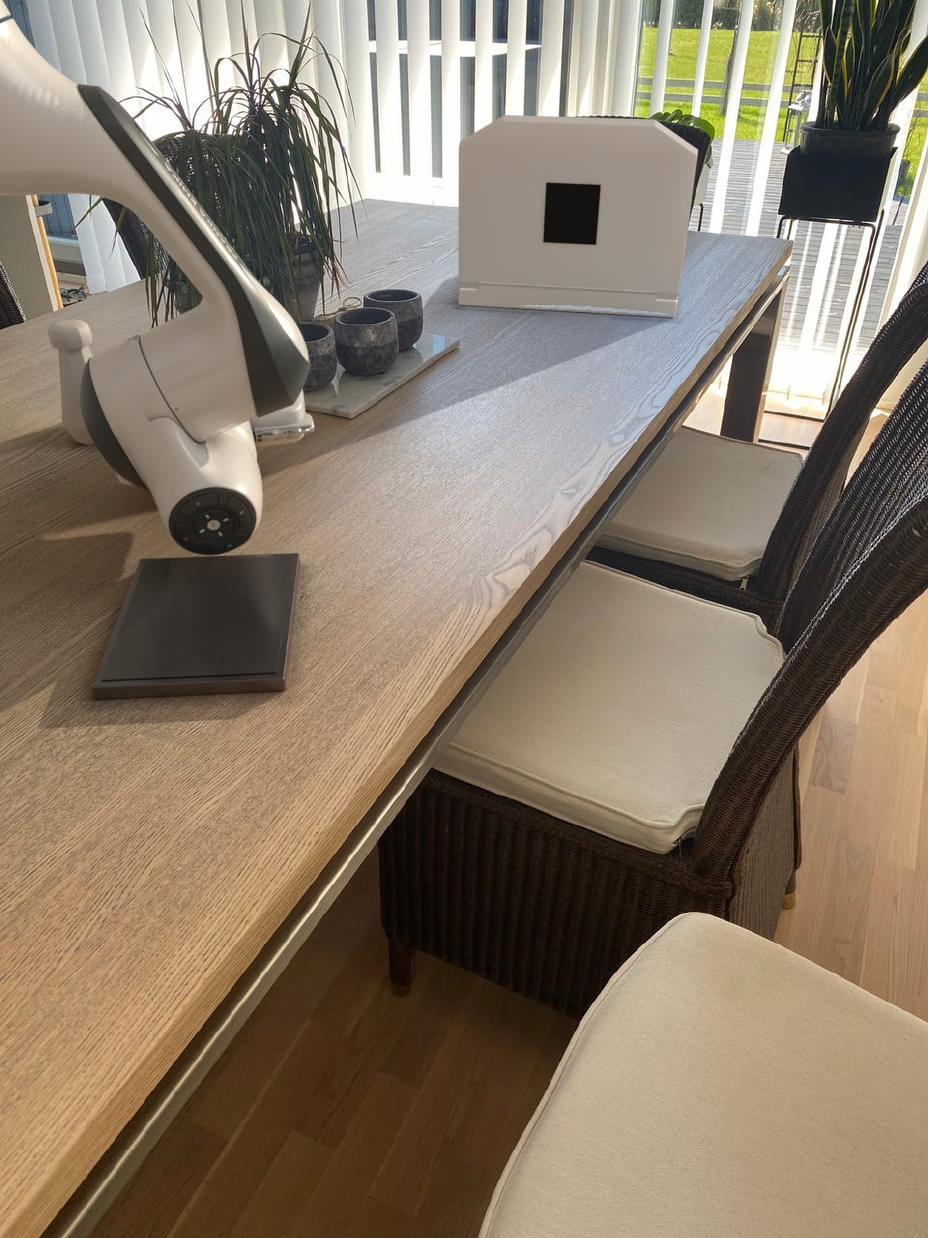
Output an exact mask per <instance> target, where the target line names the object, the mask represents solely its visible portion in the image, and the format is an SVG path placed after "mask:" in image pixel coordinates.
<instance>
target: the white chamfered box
mask: <svg viewBox="0 0 928 1238" xmlns="http://www.w3.org/2000/svg"><path fill="white" fill-rule="evenodd" d="M698 155H699V149H698V148H696V147H695V146H694V145H692V144H690V143H689V141H688V142H687V141H686V140H685V139H684V138H682V137H680V136H679V135H678V134H676V133H675V132H673V131H672V130H671V129H669V128H668V127H666V126H665V125H663V124H662V123H661V122H660V121H658V120H656V119H651V118H650V119H648V118H647V119H645V118H619V117H618V118H615V117H613V118H612V117H584V116H583V117H582V116H552V115H551V116H549V115H545V116H544V115H520V114H517V115H515V114H504V115H502V116H500V117H498V118H497V119H495V120H493V121H492V122H490V123H489V124H486V125H485V126H483V127H482V128H480V129H479V130H477V131H475V132H473V133H471V134H470V135H469V136H466V137H465V138H464V139H462V140H460V141H459V145H458V282H459V288H458V305H459V306H468V307H469V306H471V307H487V308H504V309H506V308H507V309H522V310H539V311H554V312H570V313H585V314H586V313H589V314H605V315H623V316H637V317H639V316H640V317H656V318H657V317H658V318H676V316H677V311H678V294H680V291H681V284H682V283H681V282H682V275H683V268H684V262H685V261H684V259H685V252H686V244H687V237H688V229H689V224H690V223H689V222H690V216H691V207H692V200H693V192H694V187H695V185H694V184H695V178H696V171H697V162H698ZM517 305H518V306H517ZM521 305H523V306H521ZM526 305H573V306H591V307H603V308H615V309H628V310H638V311H648V312H660V313H669V314H676V315H661V314H644V313H627V312H610V311H593V310H576V309H559V308H542V307H525V306H526Z"/></svg>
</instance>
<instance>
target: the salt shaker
mask: <svg viewBox="0 0 928 1238" xmlns="http://www.w3.org/2000/svg"><path fill="white" fill-rule="evenodd" d="M47 334H48V339H49V342H50V345H51V347H52V348H54V349H56V350H58V351H57V352H58V366H59V380H60V383H59V384H60V404H61V405H60V406H61V421H62V426H64V429H65V430H66V431H67V432H68V434H69V435H70V436H71V438H73V440H74V441H75V442H76V443H80V444H82V445H87V446H91V445H95V443H94V442H93V440H92V438H91V436H90V434H89V432H88V430H87V428H86V425H85V422H84V419H83V416H82V411H81V406H80V388H81V379H82V374H83V370H84V367H85V365H86V363H87V361H88V359H89V358H90V357H94V355H93V354H92V351H91V349H90V345H91V344H92V343H93V334H92V331H91V328H90V326H89V325H88V323H87V322H85V321H83V320H80V319H64V320H59V321H57V322H54V323H52V324H51V325H50V326H49V328H48V329H47Z"/></svg>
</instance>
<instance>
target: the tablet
mask: <svg viewBox="0 0 928 1238" xmlns="http://www.w3.org/2000/svg"><path fill="white" fill-rule="evenodd" d="M300 557H301V556H300V553H299V552H289V553H288V552H287V553H264V554H262V553H261V554H260V553H259V554H236V555H235V554H234V555H204V556H181V557H179V556H177V557H154V558H153V557H152V558H140V559H139V562H138V564H137V566H136V570H135V572H134V574H133V577H132V580H131V582H130V585H129V587H128V590H127V593H126V595H125V598H124V601H123V604H122V606H121V609H120V611H119V614H118V617H117V619H116V622H115V625H114V627H113V630H112V632H111V634H110V638H109V641H108V643H107V646H106V649H105V650H104V654H103V657H102V659H101V661H100V664H99V667H98V669H97V672H96V675H95V677H94V680H93V683H92V685H91V691H92V693H93V694H92V695H93V697H94V699H95V700H111V699H133V698H135V699H137V698H154V697H155V698H156V697H157V698H158V697H177V696H178V697H179V696H197V695H219V694H222V695H223V694H239V693H240V694H241V693H263V692H284V691H287V690H286V689H287V681H288V674H289V673H288V672H289V664H290V656H291V646H292V639H293V629H294V623H295V621H294V620H295V612H296V603H297V595H298V586H299V578H300V570H301V558H300Z"/></svg>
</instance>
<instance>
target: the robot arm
mask: <svg viewBox="0 0 928 1238" xmlns="http://www.w3.org/2000/svg"><path fill="white" fill-rule="evenodd" d="M10 16H12V14H11V12H10V10H9V8H8V7H7V5H6V3H5V2H4V0H0V197H26V196H43V195H44V196H45V195H59V194H62V195H63V194H64V195H65V194H68V195H69V194H75V195H76V194H78V195H88V196H96V197H100V198H105V199H108V200H110V201H114V202H116V203H118V204H120V205H122V206H124V207H126V208H127V209H129V210H130V211H132V213H134V214H135V215H136V216H137V217H138V218H139V219H140V220H141V221H142V222H143V223H144V225H145V226H146V228H148V230H149V231H150V232H151V233H152V234H153V236H154V237H155V238H156V240H157V241H158V242H159V243H160V245H161V246H162V247H163V248H164V250H165V251H166V252H167V253H168V255H169V256H170V257H171V258H172V259H173V261H174V262H175V263H176V265H177V266H178V267H179V268H180V269H181V271H182V272H183V274H185V276H186V277H187V279H188V280H189V281H190V282H191V284H192V285H193V286H194V287H195V288H196V290H197V291H198V292H199V293H200V294H201V296H202V300H201V302H200V303H199V304H198V305H197V306H195V307H194V308H192V309H189V310H188V311H185V312H183V313H181V314H179V315H177V316H175V317H173V318H171V319H169V320H167V321H165V322H163V323H161V324H159V325H157V326H155V327H153V328H150V329H149V330H146V331H144V332H139V333H137V334H135V335H133V336H131V337H129V338H127V339H125V340H122V341H121V342H119V343H116V344H115V345H113V346H110V347H109V348H106V349H105V350H102V351H101V352H99V353H97V354H95V355H93V357H90V358H89V359H88V361H87V363H86V365H85V367H84V370H83V374H82V379H81V388H80V406H81V411H82V416H83V419H84V422H85V425H86V428H87V430H88V432H89V434H90V436H91V438H92V440H93V442H94V443H95V444H94V445H95V447H96V448H97V450H98V452H99V453H100V455H101V456H102V457H103V459H104V460H105V462H106V463H107V464H108V465H109V466H110V468H112V469H113V470H114V473H115V476H116V477H117V481H118V482H119V483H120V484H122V485H127V486H135V487H136V488H138V489H141V490H143V491H145V492H148V493H151V495H152V498H153V501H154V503H155V505H156V507H157V510H158V513H159V516H160V520H161V522H162V525H163V527H164V529H165V531H166V533H167V534H168V536H169V538H170V539H171V540H172V542H173V543H174V544H176V545H177V546H178V547H179V548H181V549H182V550H185V551H187V552H189V553H192V554H196V555H202V556H220V555H223V554H226V553H229V552H232V551H233V550H236V549H238V548H240V547H242V545H245V544H246V543H247V542H249V540H250V539H252V537H253V536H254V535H255V533H256V531H257V529H258V527H259V525H260V522H261V519H262V515H263V514H262V512H263V505H264V504H263V503H264V494H263V491H264V490H263V481H262V475H261V470H260V466H259V462H258V454H257V448H259V447H260V448H261V447H269V446H279V445H287V444H292V443H296V442H299V441H300V440H301V439H303V437H304V436H305V434H307V433H312V432H314V431H315V426H316V424H315V422H314V418H313V416H312V414H309V413H307V412H306V403H305V396H304V395H305V394H304V386H305V384H306V382H307V379H308V375H309V372H310V369H311V366H312V363H311V360H310V357H309V351H308V347H307V344H306V342H305V339H304V336H303V335H302V333H301V330H300V328H299V326H298V325H297V323H296V322H295V320H294V319H293V317H292V316H291V315H290V314H289V312H288V311H287V310H286V309H285V307H284V306H283V305H282V304H281V303H280V301H278V300H277V299H276V298H275V297H274V296H273V295H272V294H271V293H270V292H268V290H267V289H266V288H264V287H263V285H262V284H261V283H260V281H259V280H258V279H257V277H256V276H255V275H254V274H253V272H252V271H251V270H250V269H249V267H247V265H246V264H245V262H244V261H243V260H242V258H241V257H240V256H239V255H238V253H237V252H236V251H235V249H234V248H233V246H232V245H231V244H230V242H229V241H228V239H226V237H225V236H224V234H223V233H222V232H221V231H220V229H219V228H218V227H217V225H216V224H215V223H214V221H213V220H212V219H211V217H210V216H209V215H208V214H207V212H206V211H205V209H204V208H203V206H202V205H201V204H200V203H199V201H198V200H197V199H196V197H195V196H194V194H193V193H192V192H191V191H190V189H189V188H188V186H187V185H186V183H185V182H184V181H183V180H182V178H181V177H180V176H179V175H178V173H177V172H176V171H175V169H174V168H173V166H171V164H170V163H169V162H168V161H167V159H166V158H165V157H164V155H163V153H161V151H160V150H159V149H158V147H156V145H155V144H154V142H153V141H152V140H151V139H150V138H149V136H148V135H147V133H146V132H145V131H144V130H143V128H142V127H141V126H140V125H139V124H138V123H137V121H136V120H135V119H134V118H133V116H131V114H130V113H129V112H128V111H127V110H126V109H125V108H124V107H123V106H122V104H121V103H120V102H119V101H117V100H116V99H115V98H114V97H113V96H112V95H110V93H109V92H107V91H106V90H104V89H103V88H102V87H101V86H99V85H91V84H82V83H81V84H80V83H79V84H77V83H76V82H74V81H73V80H71V79H70V78H69V77H68V76H66V75H64V74H63V73H62V72H60V70H59V71H58V70H57V69H56V68H55V67H54V66H52V65H51V64H50V63H49V62H48V61H47V60H46V59H45V58H44V57H43V56H42V55H41V54H40V53H39V51H37V49H36V48H35V47H34V46H33V45H32V43H31V42H30V41H29V40H28V39H27V37H26V36H25V34H24V33H23V32H22V30H21V29H20V27H19V26H18V24H17V21H16V20H15V19H14V18H12V17H11V18H10ZM7 18H9V19H7ZM6 19H7V20H6Z"/></svg>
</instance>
